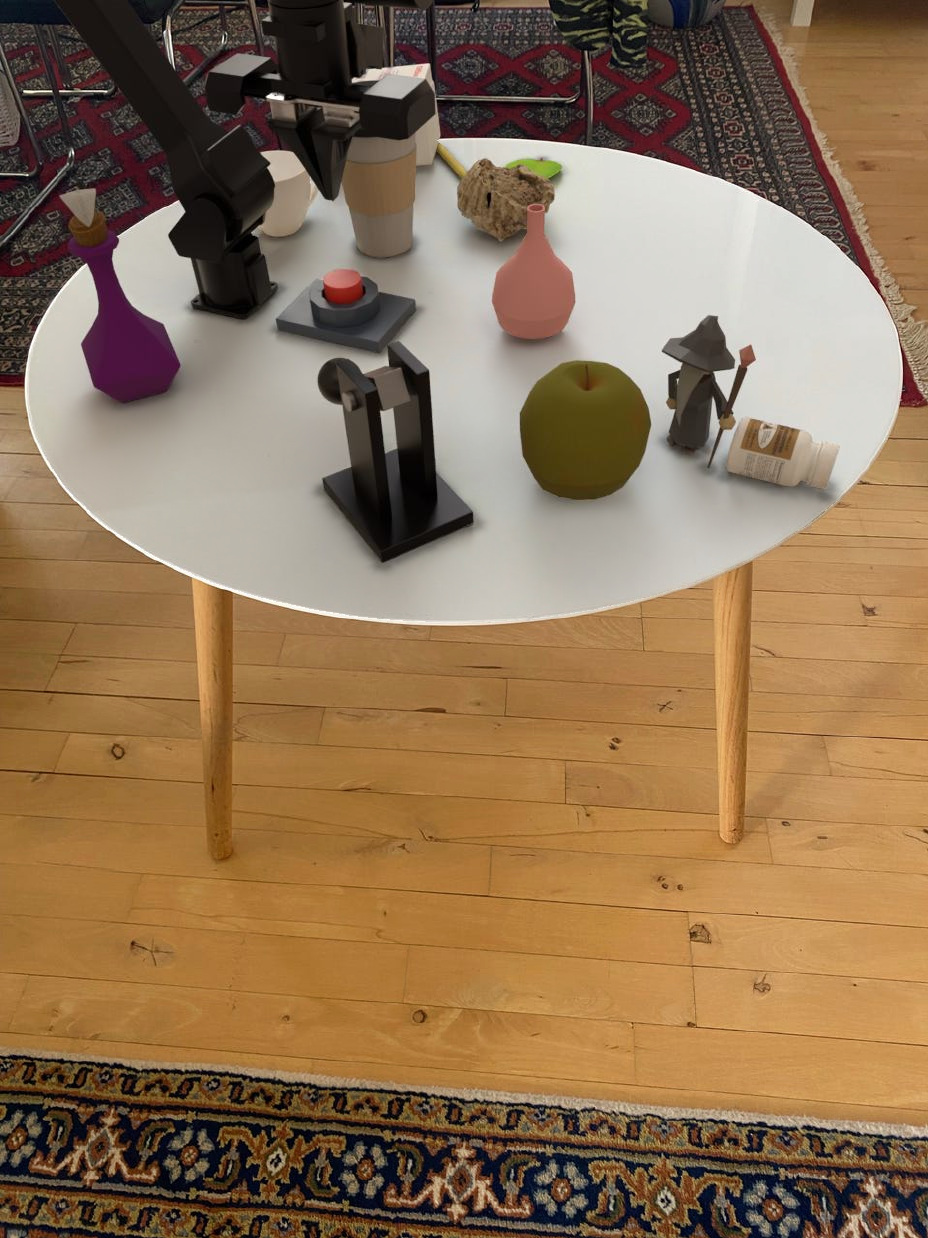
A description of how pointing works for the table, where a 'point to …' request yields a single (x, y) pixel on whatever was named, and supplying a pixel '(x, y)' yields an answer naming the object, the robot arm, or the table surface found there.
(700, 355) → the wizard figurine
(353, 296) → the button
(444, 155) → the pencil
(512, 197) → the brown rough chunky piece
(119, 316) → the perfume bottle
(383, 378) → the lever
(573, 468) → the apple
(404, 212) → the coffee cup
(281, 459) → the table surface
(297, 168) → the cup
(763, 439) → the pill bottle
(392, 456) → the bracket
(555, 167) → the decorative leaf
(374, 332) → the control block
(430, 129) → the ink box
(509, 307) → the pink vase
